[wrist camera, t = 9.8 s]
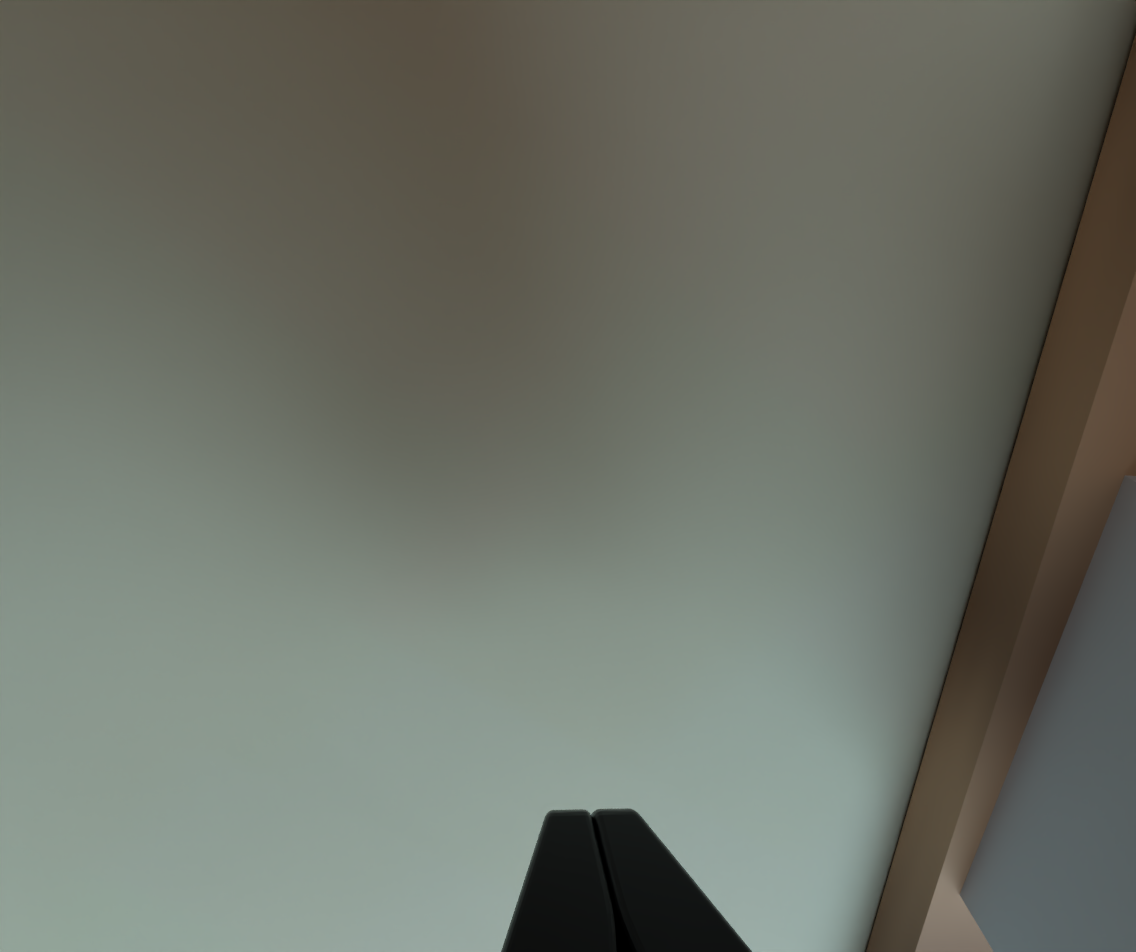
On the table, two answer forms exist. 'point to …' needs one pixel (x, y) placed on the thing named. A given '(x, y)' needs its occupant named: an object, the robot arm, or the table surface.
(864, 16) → the table surface
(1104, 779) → the blue-grey rectangular block
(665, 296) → the table surface
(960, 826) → the board
